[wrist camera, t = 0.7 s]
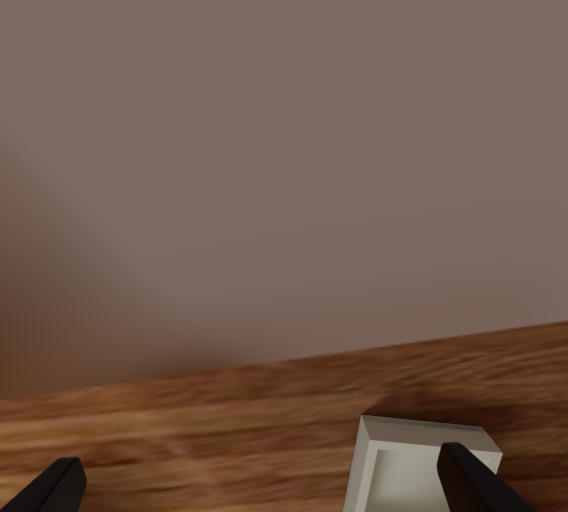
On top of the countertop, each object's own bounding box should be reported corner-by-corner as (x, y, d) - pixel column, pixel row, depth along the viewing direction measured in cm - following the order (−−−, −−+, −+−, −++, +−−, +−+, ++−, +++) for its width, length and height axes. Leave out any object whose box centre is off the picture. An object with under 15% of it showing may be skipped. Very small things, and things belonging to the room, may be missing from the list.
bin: (453, 522, 27) (470, 556, 25) (342, 512, 27) (348, 545, 25) (481, 426, 25) (502, 453, 23) (361, 414, 25) (369, 439, 23)
